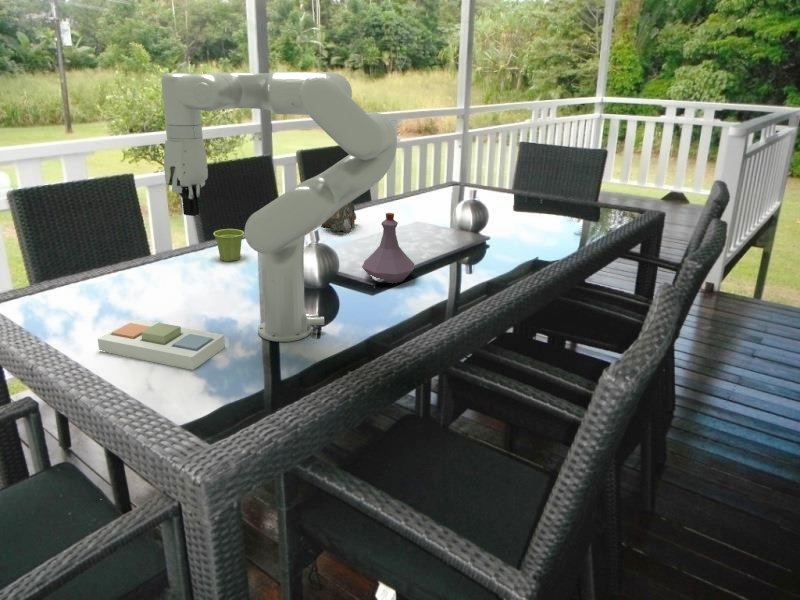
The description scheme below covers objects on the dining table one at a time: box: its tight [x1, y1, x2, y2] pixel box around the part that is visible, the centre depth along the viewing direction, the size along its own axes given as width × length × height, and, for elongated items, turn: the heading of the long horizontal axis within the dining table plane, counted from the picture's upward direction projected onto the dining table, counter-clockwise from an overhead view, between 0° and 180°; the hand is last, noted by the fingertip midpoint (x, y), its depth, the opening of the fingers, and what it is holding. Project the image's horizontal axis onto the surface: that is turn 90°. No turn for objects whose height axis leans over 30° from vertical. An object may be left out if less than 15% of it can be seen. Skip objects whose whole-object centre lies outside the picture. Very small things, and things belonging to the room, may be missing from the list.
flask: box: [361, 212, 415, 285], centre depth 186 cm, size 16×16×20 cm
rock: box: [321, 201, 357, 233], centre depth 239 cm, size 18×14×15 cm
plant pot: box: [213, 228, 245, 262], centre depth 201 cm, size 9×9×9 cm
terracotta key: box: [112, 322, 150, 339], centre depth 141 cm, size 6×6×2 cm
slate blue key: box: [173, 334, 212, 351], centre depth 137 cm, size 6×6×2 cm
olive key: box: [141, 322, 182, 345], centre depth 139 cm, size 6×6×2 cm
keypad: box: [97, 318, 226, 371], centre depth 139 cm, size 24×12×3 cm, turn 72°
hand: (191, 214), depth 144 cm, fingers closed
